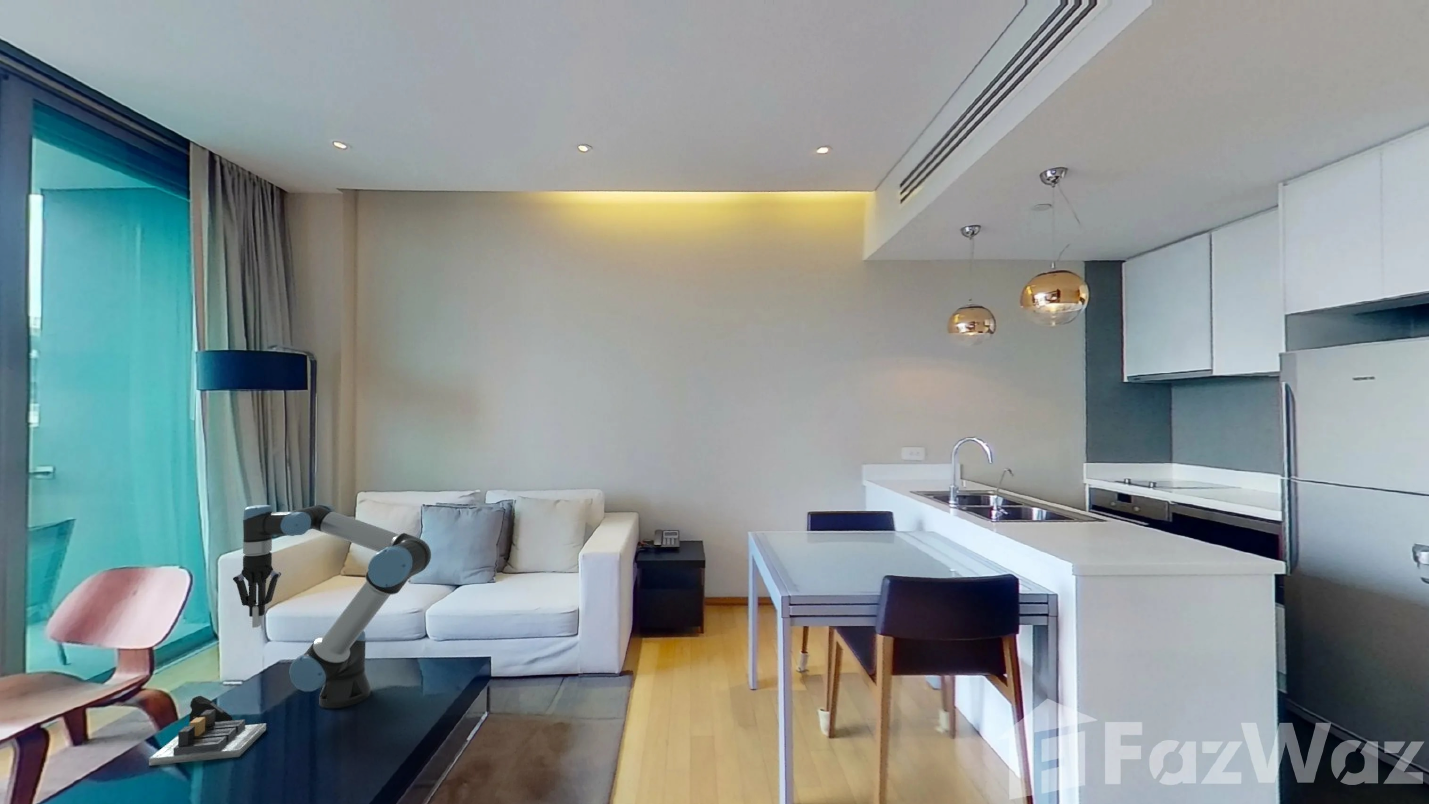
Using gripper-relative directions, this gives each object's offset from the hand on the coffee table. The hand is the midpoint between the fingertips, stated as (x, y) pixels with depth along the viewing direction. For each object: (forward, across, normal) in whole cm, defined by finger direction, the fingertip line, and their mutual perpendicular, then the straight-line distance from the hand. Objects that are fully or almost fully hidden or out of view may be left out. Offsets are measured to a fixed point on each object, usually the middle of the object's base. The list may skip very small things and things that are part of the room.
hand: (256, 625), depth 198 cm
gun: (+29, +10, +6) cm, 31 cm away
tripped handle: (+25, +8, +18) cm, 31 cm away
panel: (+29, +4, +18) cm, 34 cm away
